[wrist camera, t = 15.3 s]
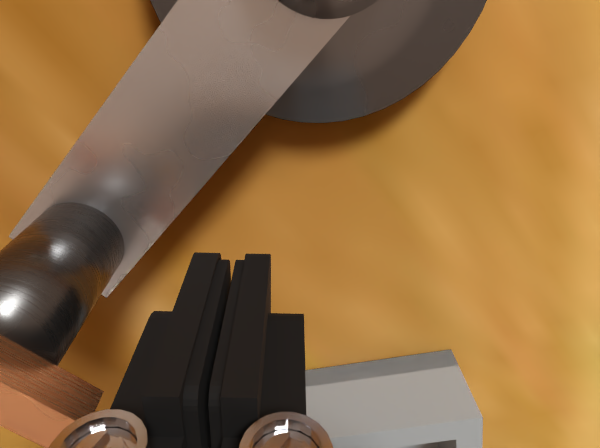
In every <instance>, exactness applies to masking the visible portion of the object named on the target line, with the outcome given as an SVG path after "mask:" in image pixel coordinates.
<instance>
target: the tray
mask: <svg viewBox="0 0 600 448" xmlns="http://www.w3.org/2000/svg"><path fill="white" fill-rule="evenodd" d="M305 380H306V416H308V417H310V418H311V419H313V420H315V421H316V422H318V423H319V424H320V425H321V426H322V427H323V428H324V430H325V431H326V432H327V433H328V436H329V438H330V440H331V442H332V445H333V448H482V431H483V417H482V415H481V413H480V411H479V409H478V406H477V404H476V402H475V400H474V398H473V396H472V393H471V391H470V389H469V387H468V385H467V383H466V381H465V378H464V376H463V374H462V372H461V370H460V368H459V366H458V363H457V361H456V359H455V357H454V355H453V353H452V350H444V351H437V352H430V353H423V354H417V355H410V356H403V357H396V358H389V359H382V360H375V361H368V362H361V363H354V364H347V365H340V366H333V367H326V368H319V369H312V370H305Z"/></svg>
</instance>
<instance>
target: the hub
mask: <svg viewBox="0 0 600 448" xmlns="http://www.w3.org/2000/svg"><path fill="white" fill-rule="evenodd" d="M150 1H151V3H152V5H153V7H154V9H155V12H156V14H157V16H158V18H159V20H160V22H161V23H162V21H163V20H164V19H165V17H166V16H167V14H168V13H169V12H170V10H171V9H172V7H173V6H174V5H175V3H176V2H177V0H150ZM486 1H487V0H378V1H376V2H375V3H374V4H373V5H371V6H369V7H368V8H366V9H364V10H363V11H360V12H358V13H356V14H354V15H351V16H350V17H349V18H348V19H347V20H346V21H345V23H344V24H343V25H342V26H341V27H340V28H339V30H338V31H337V32H336V33H335V34H334V35H333V36H332V38H331V39H330V40H329V41H328V42H327V43H326V45H325V46H324V47H323V48H322V49H321V50H320V52H319V53H318V54H317V55H316V56H315V57H314V58H313V60H312V61H311V62H310V63H309V64H308V65H307V67H306V68H305V69H304V70H303V71H302V72H301V74H300V75H299V76H298V77H297V78H296V79H295V80H294V82H293V83H292V84H291V85H290V86H289V87H288V89H287V90H286V91H285V92H284V93H283V94H282V96H281V97H280V98H279V99H278V100H277V101H276V102H275V104H274V105H273V106H272V107H271V108H270V109H269V111H268V112H267V113H266V115H270V116H273V117H276V118H280V119H284V120H291V121H297V122H308V123H327V122H337V121H345V120H349V119H353V118H358V117H362V116H365V115H368V114H371V113H373V112H376V111H379V110H381V109H384V108H386V107H388V106H390V105H392V104H394V103H396V102H397V101H399V100H401V99H403V98H405V97H406V96H408V95H409V94H411V93H412V92H413V91H415V90H416V89H418V88H419V87H421V86H422V85H423V84H424V83H426V82H427V81H428V80H429V79H430V78H431V77H432V76H433V75H435V74H436V73H437V72H438V71H439V70H440V69H441V68H442V67H443V66H444V65H445V64H446V62H447V61H448V60H449V59H450V58H451V57H452V56H453V55H454V54H455V52H456V51H457V50H458V48H459V47H460V45H461V44H462V43H463V41H464V40H465V39H466V37H467V36H468V34H469V33H470V31H471V30H472V28H473V26H474V24H475V22H476V21H477V19H478V17H479V15H480V14H481V12H482V10H483V8H484V5H485V3H486Z"/></svg>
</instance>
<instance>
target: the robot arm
mask: <svg viewBox="0 0 600 448" xmlns="http://www.w3.org/2000/svg"><path fill="white" fill-rule="evenodd" d="M48 448H333V445H332V442H331V440H330V438H329V436H328V433H327V432H326V431H325V430H324V428H323V427H322V426H321V425H320V424H319V423H318V422H316V421H315V420H313V419H311V418H310V417H308V416H306V380H305V342H304V314H278V313H271V255H270V254H246V255H245V260H236V262H235V266H234V271H233V276H232V281H231V273H230V261H229V260H221V255H220V253H194V254H193V257H192V259H191V262H190V265H189V268H188V270H187V273H186V276H185V279H184V281H183V284H182V287H181V289H180V292H179V295H178V298H177V300H176V303H175V306H174V309H173V311H172V312H170V311H154V312H153V313H152V314H151V316H150V317H149V319H148V322H147V324H146V326H145V329H144V331H143V333H142V336H141V338H140V340H139V343H138V345H137V347H136V350H135V352H134V354H133V357H132V359H131V361H130V364H129V366H128V369H127V371H126V373H125V376H124V378H123V380H122V383H121V385H120V387H119V390H118V392H117V394H116V397H115V399H114V401H113V404H112V406H111V408H110V409H106V410H101V411H97V412H93V413H90V414H88V415H86V416H83V417H81V418H79V419H77V420H75V421H74V422H73V423H71V424H70V425H69V426H67V427H66V428H64V429H63V430H62V431H61V433H60V434H59V435H58V436H57V437H56V438H55V439H54V440H53V442H52V443H51V445H50V446H49V447H48Z"/></svg>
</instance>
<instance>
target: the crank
mask: <svg viewBox="0 0 600 448" xmlns="http://www.w3.org/2000/svg"><path fill="white" fill-rule="evenodd" d="M376 1H378V0H177V2H176V3H175V5H174V6H173V7H172V9H171V10H170V12H169V13H168V14H167V16H166V17H165V19H164V20H163V21H162V23H161V24H160V26H159V27H158V28H157V30H156V31H155V33H154V34H153V35H152V37H151V38H150V40H149V41H148V42H147V44H146V45H145V47H144V48H143V49H142V51H141V52H140V54H139V55H138V56H137V58H136V59H135V61H134V62H133V63H132V65H131V66H130V68H129V69H128V70H127V72H126V73H125V74H124V76H123V77H122V79H121V80H120V81H119V83H118V84H117V86H116V87H115V88H114V90H113V91H112V93H111V94H110V95H109V97H108V98H107V100H106V101H105V102H104V104H103V105H102V107H101V108H100V109H99V111H98V112H97V114H96V115H95V116H94V118H93V119H92V121H91V122H90V123H89V125H88V126H87V128H86V129H85V130H84V132H83V133H82V135H81V136H80V137H79V139H78V140H77V142H76V143H75V144H74V146H73V147H72V149H71V150H70V151H69V153H68V154H67V156H66V157H65V158H64V160H63V161H62V163H61V164H60V165H59V167H58V168H57V170H56V171H55V172H54V174H53V175H52V177H51V178H50V179H49V181H48V182H47V183H46V185H45V186H44V188H43V189H42V190H41V192H40V193H39V195H38V196H37V197H36V199H35V200H34V202H33V203H32V204H31V206H30V207H29V209H28V210H27V211H26V213H25V214H24V216H23V217H22V218H21V220H20V221H19V223H18V224H17V225H16V227H15V228H14V230H13V231H12V232H11V234H10V235H9V237H10V238H11V239H13V240H12V241H11V242H10V243H9V244H8V245H6V246H5V247H4V248H3V249H2V250H1V251H0V426H2V427H4V428H6V429H8V430H10V431H12V432H14V433H16V434H18V435H20V436H22V437H24V438H27V439H29V440H31V441H33V442H35V443H37V444H39V445H41V446H43V447H45V448H48V447H49V446H50V445H51V443H52V442H53V440H54V439H55V438H56V437H57V436H58V435H59V434H60V433H61V431H62V430H63V429H64V428H66V427H67V426H69V425H70V424H71V423H73V422H74V421H75V420H77V419H79V418H81V417H83V416H86V415H88V414H90V413H93V412H94V411H95V409H96V407H97V405H98V403H99V400H100V398H101V396H102V394H103V392H104V391H102V390H100V389H98V388H96V387H94V386H93V385H91V384H89V383H87V382H85V381H84V380H82V379H80V378H78V377H76V376H75V375H73V374H71V373H69V372H67V371H66V370H64V369H62V368H60V367H58V364H59V363H60V361H61V359H62V358H63V356H64V354H65V353H66V351H67V349H68V348H69V346H70V345H71V343H72V341H73V340H74V338H75V336H76V335H77V333H78V332H79V330H80V328H81V327H82V325H83V323H84V322H85V320H86V318H87V317H88V315H89V314H90V312H91V310H92V309H93V307H94V305H95V304H96V302H97V301H98V299H99V297H100V296H101V295H103V296H104V297H106V298H107V297H108V296H109V295H110V293H111V292H112V291H113V290H114V289H115V288H116V286H117V285H118V284H119V283H120V282H121V281H122V279H123V278H124V277H125V276H126V275H127V274H128V273H129V271H130V270H131V269H132V268H133V267H134V266H135V264H136V263H137V262H138V261H139V260H140V259H141V258H142V256H143V255H144V254H145V253H146V252H147V251H148V249H149V248H150V247H151V246H152V245H153V244H154V242H155V241H156V240H157V239H158V238H159V237H160V236H161V234H162V233H163V232H164V231H165V230H166V229H167V227H168V226H169V225H170V224H171V223H172V222H173V220H174V219H175V218H176V217H177V216H178V215H179V214H180V212H181V211H182V210H183V209H184V208H185V207H186V205H187V204H188V203H189V202H190V201H191V200H192V198H193V197H194V196H195V195H196V194H197V193H198V192H199V190H200V189H201V188H202V187H203V186H204V185H205V183H206V182H207V181H208V180H209V179H210V178H211V177H212V175H213V174H214V173H215V172H216V171H217V170H218V168H219V167H220V166H221V165H222V164H223V163H224V161H225V160H226V159H227V158H228V157H229V156H230V155H231V153H232V152H233V151H234V150H235V149H236V148H237V146H238V145H239V144H240V143H241V142H242V141H243V139H244V138H245V137H246V136H247V135H248V134H249V133H250V131H251V130H252V129H253V128H254V127H255V126H256V124H257V123H258V122H259V121H260V120H261V119H262V117H263V116H264V115H265V114H266V113H267V112H268V111H269V109H270V108H271V107H272V106H273V105H274V104H275V102H276V101H277V100H278V99H279V98H280V97H281V96H282V94H283V93H284V92H285V91H286V90H287V89H288V87H289V86H290V85H291V84H292V83H293V82H294V80H295V79H296V78H297V77H298V76H299V75H300V74H301V72H302V71H303V70H304V69H305V68H306V67H307V65H308V64H309V63H310V62H311V61H312V60H313V58H314V57H315V56H316V55H317V54H318V53H319V52H320V50H321V49H322V48H323V47H324V46H325V45H326V43H327V42H328V41H329V40H330V39H331V38H332V36H333V35H334V34H335V33H336V32H337V31H338V30H339V28H340V27H341V26H342V25H343V24H344V23H345V21H346V20H347V19H348V18H349V17H350V16H351V15H354V14H356V13H358V12H360V11H363V10H364V9H366V8H368V7H369V6H371V5H373V4H374V3H375V2H376Z"/></svg>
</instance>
